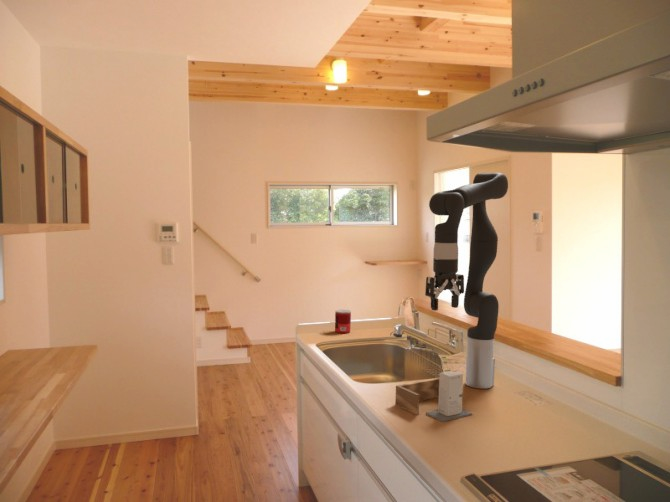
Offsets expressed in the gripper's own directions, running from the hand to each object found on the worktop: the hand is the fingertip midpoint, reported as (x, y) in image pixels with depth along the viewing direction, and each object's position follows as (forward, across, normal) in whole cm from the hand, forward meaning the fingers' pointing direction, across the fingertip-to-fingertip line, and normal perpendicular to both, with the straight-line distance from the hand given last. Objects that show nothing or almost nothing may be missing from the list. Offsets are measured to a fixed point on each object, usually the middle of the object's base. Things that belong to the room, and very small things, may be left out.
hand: (444, 308), depth 167 cm
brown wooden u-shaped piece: (+30, +4, -2) cm, 31 cm away
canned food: (+32, -30, -103) cm, 112 cm away
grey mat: (+30, +5, +7) cm, 32 cm away
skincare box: (+30, +4, +7) cm, 31 cm away
